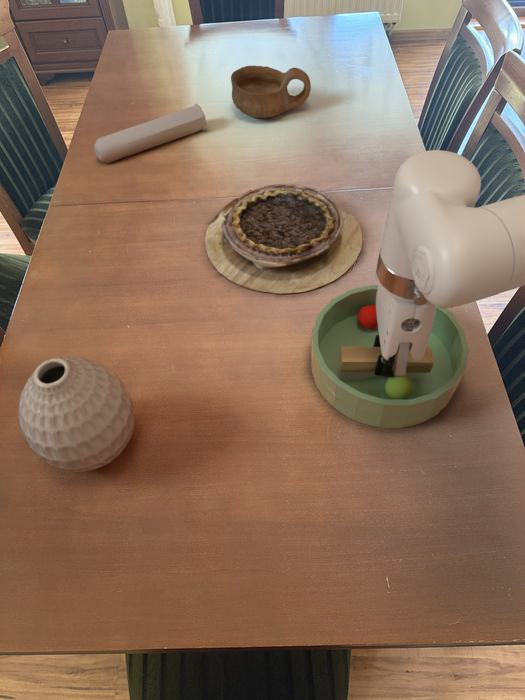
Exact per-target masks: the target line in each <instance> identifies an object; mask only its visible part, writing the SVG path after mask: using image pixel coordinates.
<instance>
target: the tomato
mask: <svg viewBox="0 0 525 700" xmlns="http://www.w3.org/2000/svg"><path fill="white" fill-rule="evenodd" d="M358 322H359V324H360V325H361V326H362V327H364V328H366V329H374V328H376V327H378V323H377V314H376V306H373V305H367V306H364V307H363V308H361V310H360V311H359V313H358Z"/></svg>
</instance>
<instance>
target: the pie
mask: <svg viewBox="0 0 525 700" xmlns="http://www.w3.org/2000/svg"><path fill="white" fill-rule="evenodd" d="M204 244H205V252H206V254H207V257H208V259H209V261H210V263H211V264H212V266H213V267H214V268H215V270H217V271H218V272H219V274H221V275H222V276H223V277H224V278H226V279H227V280H229V281H231V282H232V283H235V284H237V285H239V286H241V287H244V288H247V289H250V290H254V291H257V292H258V291H259V292H263V293H271V294H280V295H281V294H282V295H283V294H298V293H303V292H308V291H312V290H315V289H318V288H321V287H323V286H325V285H327V284H330V283H332V282H334V281H336V280H337V279H339V278H340V277H341V276H343V275H344V274H346V273H347V271H348V270H350V268H351V267H352V266H353V265H354V263H356V261H357V260H358V257H359V254H360V253H361V251H362V248H363V247H362V246H363V234H362V229H361V226H360V223H359V222H358V220H357V219H356V218H355V217H354V216H353V215H352V214H348V213H347V212H344V211H343V210H342V208H339V207H337V205H336V202H335V200H334V199H333V198H331V197H330V196H328V194H327V193H326V192H322V191H321V190H318V189H317V188H315V187H310V186H306V185H300V184H294V183H275V184H268V185H264V186H261V187H257V188H253V189H249V190H248V191H247V192H245V193H242V194H241V196H239V197H238V198H234V199H233V200H231V201H230V202H228V203H227V204H226V205H224V207H222V208H221V209H220V210H219V212H218V213H217V214H216V215H215V217H214V218H213V219H212V221H211V222H210V223H209V225H208V227H207V229H206V233H205V237H204Z"/></svg>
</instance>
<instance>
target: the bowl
mask: <svg viewBox="0 0 525 700" xmlns="http://www.w3.org/2000/svg"><path fill="white" fill-rule="evenodd" d="M294 80H298V81H300V82H302V83H303V89H302V90H301V91H300V92H299V93H298V94H296V95H291V94H290V93H289V89H288V86H289V84H290V83H291V81H294ZM230 83H231V100H232V103H233V105H234V106H235V107H236V108H237V109H238V110H239V111H240V112H241V113H243V114H245V115H247V116H248V117H252V118H261V119H267V118H269V119H272V118H273V117H276V116H278V115H280V114H283V113H285V112H286V111H289V110H292V109H296V108H298V107H300V106H302V105H303V104H304V103H306V101H307V100H308V99H309V97H310V94H311V90H312V89H311V86H312V85H311V79H310V77H309V75H308V74H307V72H306V71H304V70H303V69H301V68H299V67H291V68H289V69H287V71H286V72H282V71H280V70H278V69H275V68H273V67H269V66H266V65H265V66H264V65H245V66H242V67H240V68H238V69H236V70H233V72H232V73H231V76H230Z"/></svg>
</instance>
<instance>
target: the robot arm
mask: <svg viewBox="0 0 525 700" xmlns="http://www.w3.org/2000/svg"><path fill="white" fill-rule="evenodd" d="M481 187H482V179H481V175H480V172H479V170H478V168H477V167H476V166H475V164H474V163H472V161H470V160H469V159H468V158H466V157H464V156H463V155H461V154H459V153H456V152H453V151H449V150H443V149H442V150H440V149H430V150H424V151H421V152H417V153H415V154H413V155H411V156H409V157H408V158H406V159H405V161H403V162H402V163H401V165H400V166H399V168H398V170H397V172H396V174H395V177H394V182H393V185H392V191H391V196H390V199H389V200H390V201H389V205H388V210H387V214H386V220H385V224H384V228H383V229H384V230H383V234H382V240H381V244H380V249H379V254H378V258H377V262H376V268H375V275H374V276H375V280H376V284H377V285H378V289H377V295H376V314H377V323H378V335H376V338H375V342H374V346H373V347H381V352H382V355H379V356H378V360H377V363H376V367H375V375H376V376H384V377H393V376H405V375H406V368H407V360H408V353H409V350H410V353H411V356H412V358H413V361H420V360H421V359H422V358H423V356H424V354H425V351H426V347H427V344H428V341H429V338H430V334H431V331H432V327H433V323H434V318H435V313H436V306H437V307H441V308H446V309H452V308H456V307H461V306H464V305H465V306H466V305H468V304H471V303H474V302H478V301H481V300H484V299H488V298H491V297H494V296H497V295H500V294H502V293H504V292H505V293H506V292H509V291H512V290H515V289H519V288H521V287H525V194H522V195H518V196H514V197H509V198H506V199H503V200H499V201H495V202H492V203H487V204H485V205H481V206H477V207H476V204H477V202H478V200H479V196H480V193H481Z"/></svg>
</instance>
